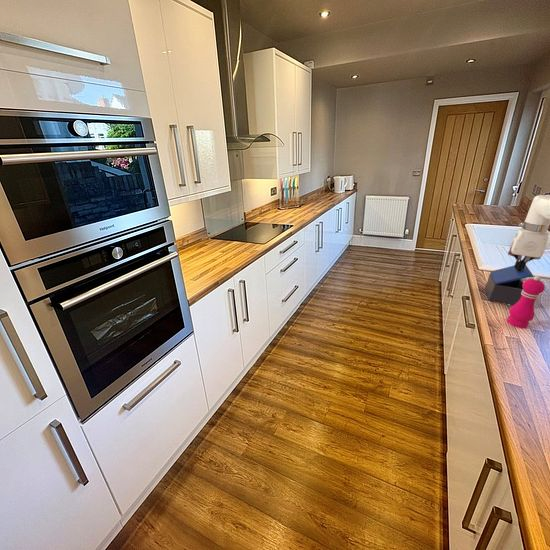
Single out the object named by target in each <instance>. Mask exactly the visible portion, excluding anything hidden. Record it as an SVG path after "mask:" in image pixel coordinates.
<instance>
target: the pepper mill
mask: <svg viewBox="0 0 550 550" xmlns="http://www.w3.org/2000/svg"><path fill="white" fill-rule="evenodd" d="M523 282H524V283H523V285H522V287H523V289H524V290H522V292H521V294H522V296H521V298H520V300H519V301H518V302H517V303H516V304H514V305H513V306H512V305H511V307H510V309H509V311H508V313H509V315H508V317H507V320H506V321H507V323H508V324H510V325H511V326H513V327H516V328H520V329H526V328H528V327H529V325H530V322H532V321H533V320H534V318H535V308H534V306H535V302H536V300H537V299H539V297H540V295H541V294H542V293H543V292H544V291H545V289H546V285H545V284H544V282H543V281H541V276H539V275H535V276H533V278H529V279H526V280H524V281H523Z"/></svg>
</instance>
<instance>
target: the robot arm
mask: <svg viewBox="0 0 550 550" xmlns="http://www.w3.org/2000/svg"><path fill="white" fill-rule="evenodd" d="M518 227H520V228H519V230H518V231H517V233H516V234H515V236H514V238H513V240H512V241H511V244H510V246H509V250H508V251H507V255H508V256H511V257H513V258H515V260H516V261H515V263H514V265H515V266H514V265H513V266H514V268H515V269H516V271H522V269H524V267H525V265H526V266H527V264H528V263H529V262H531V261H533V260H541V258H542V257H543V255H544V253H545V250H546V247H547V244H548V240H549V232H548V230H549V227H550V194H537V195H536V196H534V198H533V199H532V202H531V204H530V207H529V209H528V212H527V215H526V217H525V220H524V221H523V222H520V223H518ZM522 257H523V258H522Z"/></svg>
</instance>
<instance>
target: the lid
mask: <svg viewBox="0 0 550 550" xmlns="http://www.w3.org/2000/svg"><path fill="white" fill-rule="evenodd" d="M514 266H515V264H514V265H511V266H508V267H506V266H505V267H503V268H499V269H495V270H491V271H490V273H491V275H492V277H493V280H494V282H495V285H497V284H501V283H506V282H510V281H514V280H519V279H522V280H523V279H527V278H532V277H534V274H533V272H532V271H531V270H530V268H529V267H528V266H527V264H526V265H525V267H524V269H522V271H516V269H515V268H514Z"/></svg>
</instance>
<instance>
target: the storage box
mask: <svg viewBox="0 0 550 550" xmlns="http://www.w3.org/2000/svg"><path fill="white" fill-rule="evenodd" d="M524 282H525V281H524V280H523V279H519V280H514V281H510V282H506V283H501V284H497V285H495V282H494V280H493V277H492V275H491V272H490V273H489V275H488V278H487V281H486V284H485V286H484V290H485V293H486V296H487V300H488V302H492V301H493V302H492V303H497V302H499V303H498V304H502V303H505V304H504V305H507V304H510V305H509V306H512V305H514V304H516V303H517V302H518V301H519V300H520V298H521V296H522V294H521V292H522V290H524V289H523V287H522V285H523V283H524Z"/></svg>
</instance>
